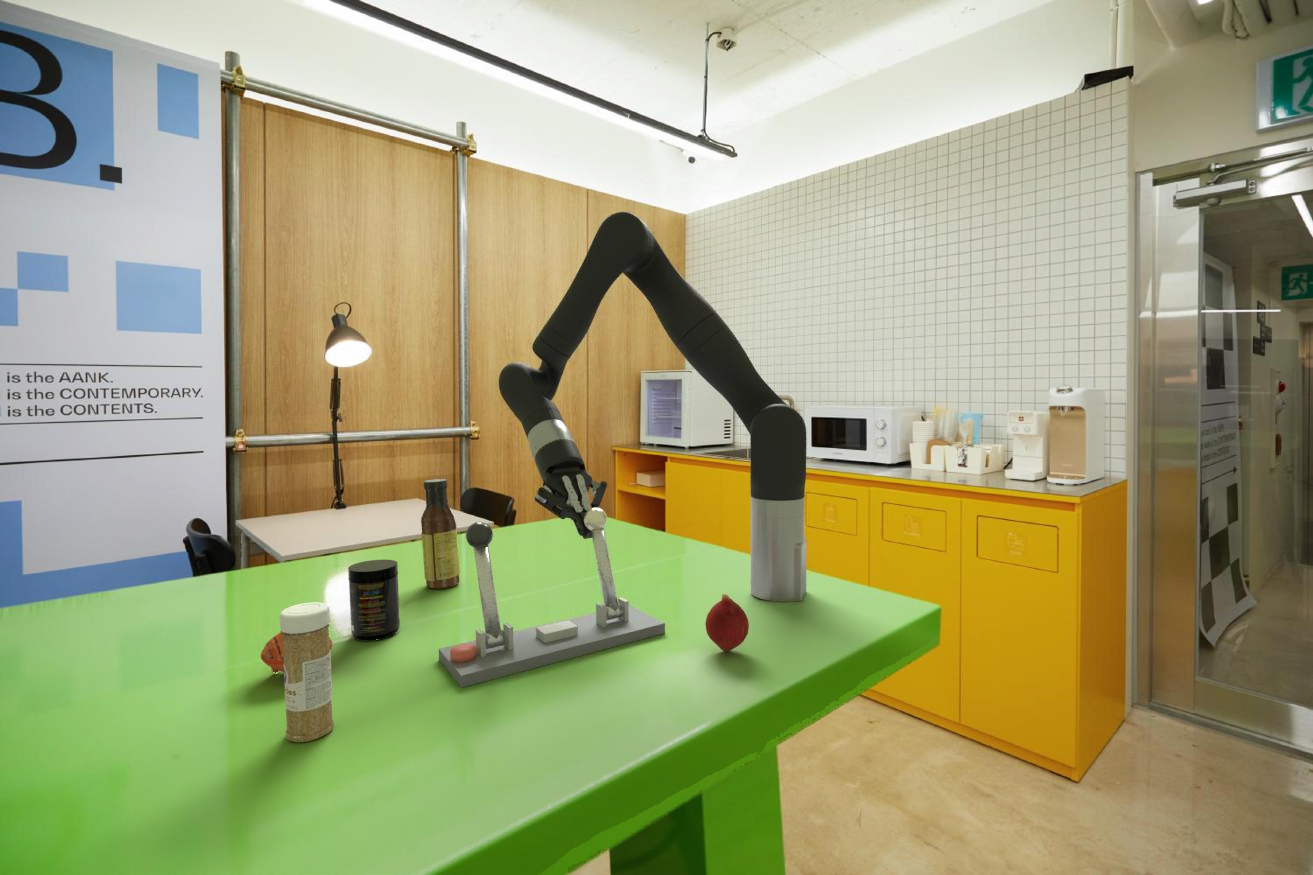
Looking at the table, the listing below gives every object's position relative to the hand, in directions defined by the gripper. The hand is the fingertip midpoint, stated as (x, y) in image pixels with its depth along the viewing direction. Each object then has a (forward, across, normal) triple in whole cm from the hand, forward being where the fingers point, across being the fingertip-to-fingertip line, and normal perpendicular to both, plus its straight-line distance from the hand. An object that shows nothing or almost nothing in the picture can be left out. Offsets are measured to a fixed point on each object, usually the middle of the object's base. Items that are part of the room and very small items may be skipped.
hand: (590, 535), depth 99 cm
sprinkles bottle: (+18, -40, 0) cm, 44 cm away
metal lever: (+12, 0, +3) cm, 12 cm away
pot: (+6, -40, +13) cm, 43 cm away
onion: (+25, +9, -6) cm, 27 cm away
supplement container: (0, -29, +19) cm, 35 cm away
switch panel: (+14, -9, +5) cm, 17 cm away
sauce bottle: (-13, -15, +32) cm, 38 cm away
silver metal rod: (+12, -18, +2) cm, 22 cm away
